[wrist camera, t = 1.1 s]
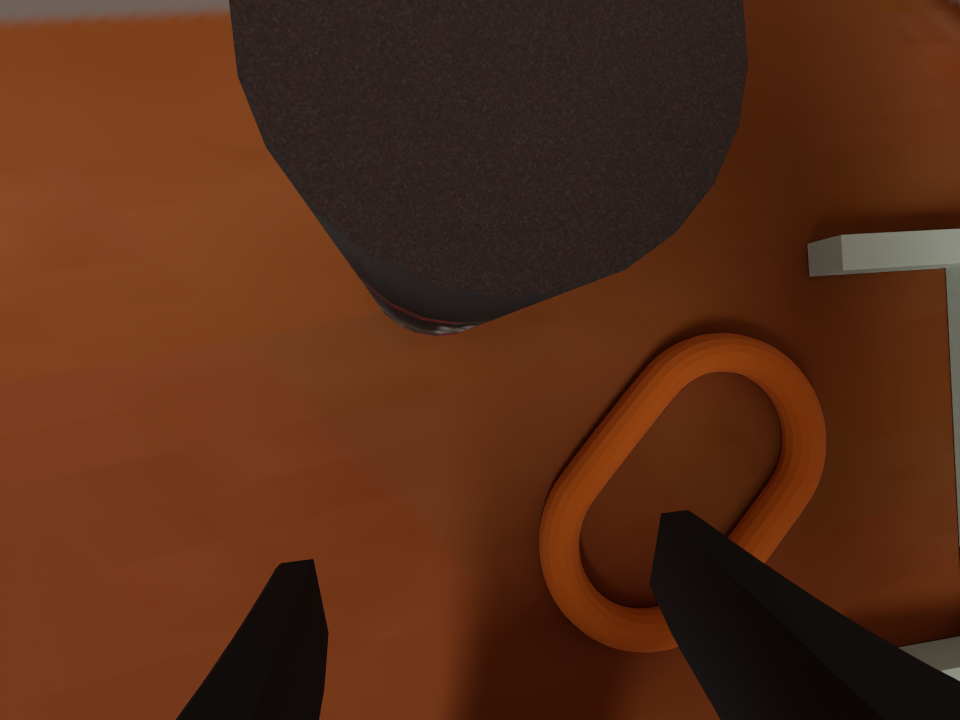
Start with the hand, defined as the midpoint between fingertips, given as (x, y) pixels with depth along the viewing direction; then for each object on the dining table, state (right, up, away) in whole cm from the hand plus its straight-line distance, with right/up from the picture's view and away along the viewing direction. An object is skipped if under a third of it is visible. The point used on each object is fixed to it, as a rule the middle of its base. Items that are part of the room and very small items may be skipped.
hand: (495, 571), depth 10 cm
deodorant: (-2, +8, +10) cm, 13 cm away
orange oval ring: (+9, -1, +12) cm, 15 cm away
